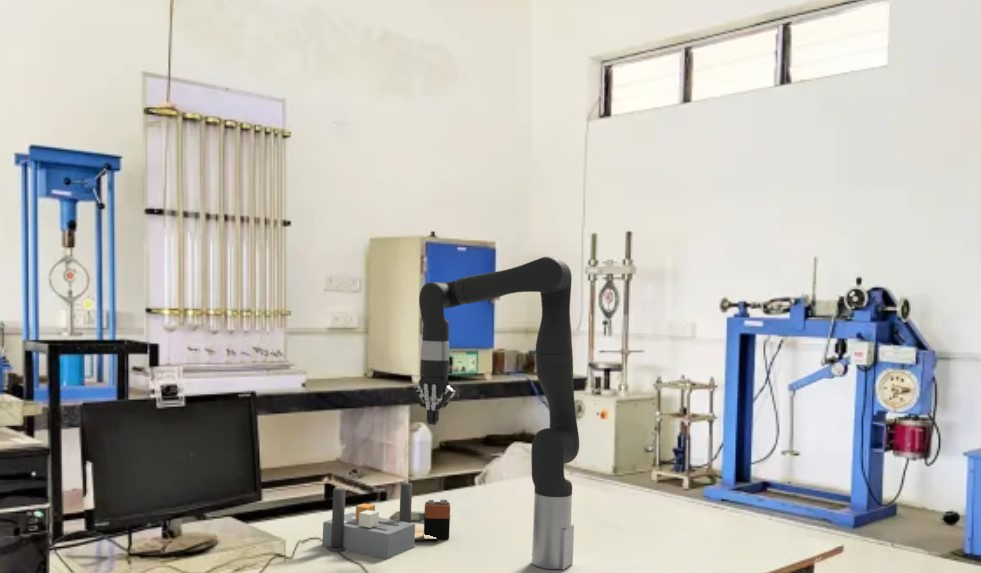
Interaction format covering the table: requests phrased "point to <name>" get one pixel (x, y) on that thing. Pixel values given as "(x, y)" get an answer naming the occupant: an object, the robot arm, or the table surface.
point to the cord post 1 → (337, 520)
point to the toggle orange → (364, 509)
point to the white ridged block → (368, 518)
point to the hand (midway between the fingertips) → (432, 424)
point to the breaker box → (373, 536)
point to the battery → (437, 519)
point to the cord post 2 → (405, 502)
